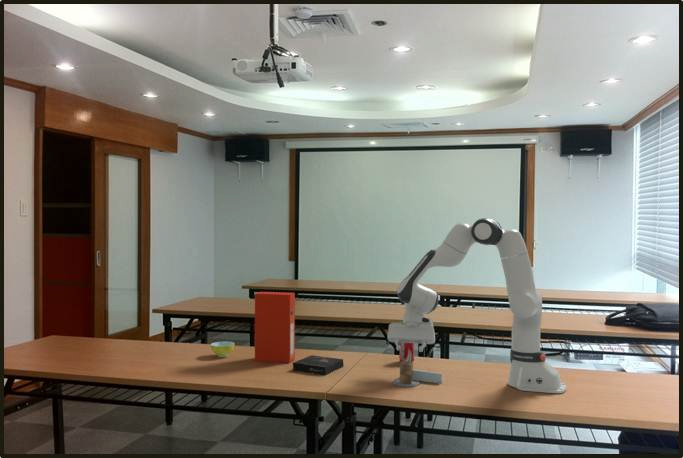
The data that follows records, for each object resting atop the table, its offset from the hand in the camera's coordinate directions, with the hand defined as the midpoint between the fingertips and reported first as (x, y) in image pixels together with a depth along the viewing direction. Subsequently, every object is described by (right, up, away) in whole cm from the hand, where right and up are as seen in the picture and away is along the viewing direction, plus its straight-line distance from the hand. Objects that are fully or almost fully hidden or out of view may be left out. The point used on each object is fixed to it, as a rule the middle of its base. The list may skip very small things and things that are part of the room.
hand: (409, 350), depth 237 cm
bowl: (-87, -12, +40) cm, 96 cm away
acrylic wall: (+4, -12, -2) cm, 13 cm away
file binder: (-60, -12, +32) cm, 69 cm away
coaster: (-2, -12, -6) cm, 14 cm away
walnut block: (-2, -12, -6) cm, 13 cm away
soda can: (+2, -12, +30) cm, 32 cm away
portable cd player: (-39, -12, +17) cm, 44 cm away
